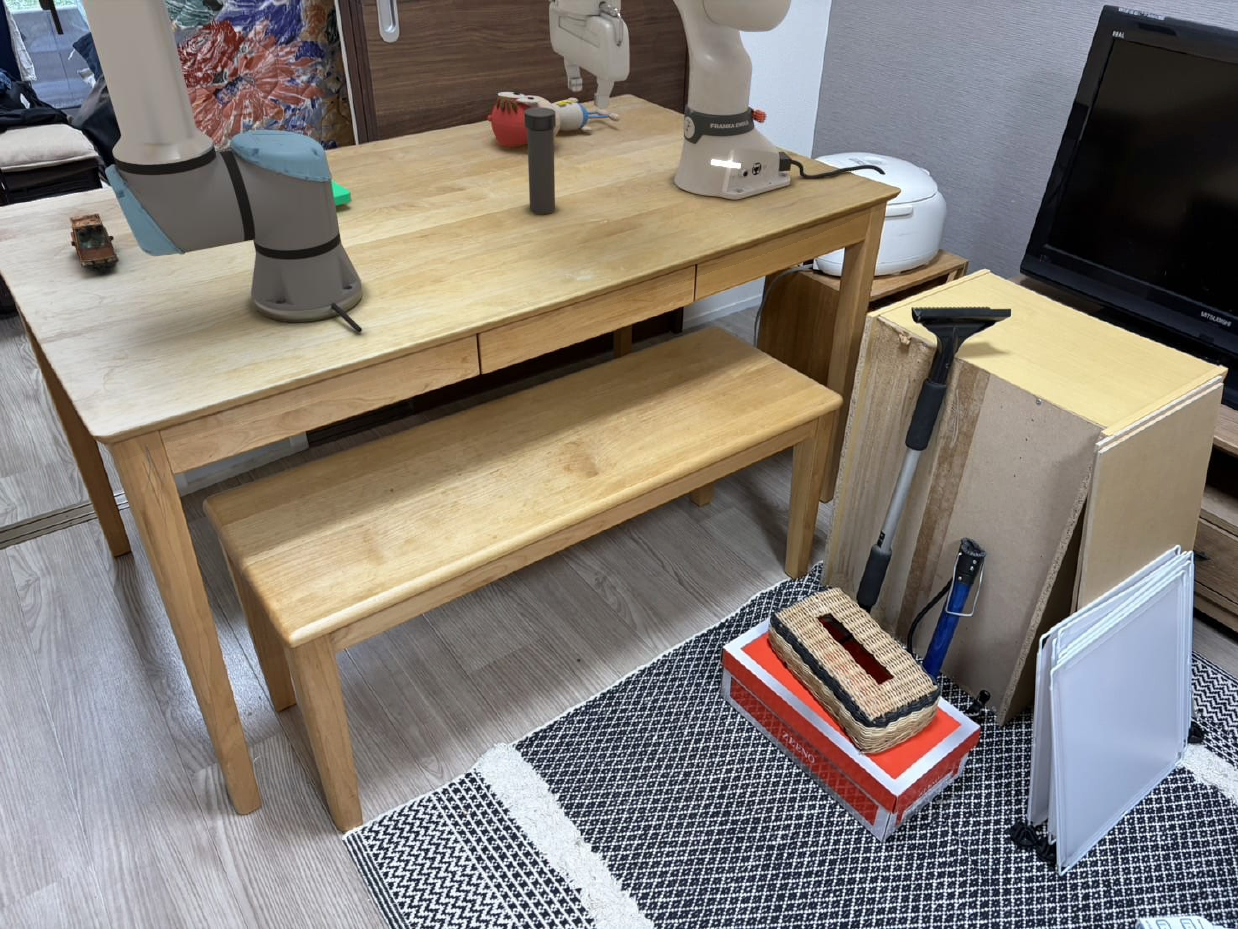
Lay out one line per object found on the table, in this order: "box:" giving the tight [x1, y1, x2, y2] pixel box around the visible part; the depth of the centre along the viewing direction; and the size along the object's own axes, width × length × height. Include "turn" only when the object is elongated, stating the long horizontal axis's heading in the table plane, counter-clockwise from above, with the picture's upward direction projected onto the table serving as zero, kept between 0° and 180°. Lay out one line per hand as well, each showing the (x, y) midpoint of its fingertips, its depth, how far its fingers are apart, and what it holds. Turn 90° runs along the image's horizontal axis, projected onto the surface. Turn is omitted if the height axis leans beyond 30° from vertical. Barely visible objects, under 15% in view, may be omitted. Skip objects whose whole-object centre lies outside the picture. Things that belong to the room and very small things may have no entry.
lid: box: [524, 107, 556, 130], centre depth 155 cm, size 5×5×2 cm
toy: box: [487, 91, 621, 148], centre depth 195 cm, size 18×10×30 cm
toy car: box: [69, 213, 120, 274], centre depth 141 cm, size 6×12×7 cm, turn 39°
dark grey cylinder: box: [527, 128, 556, 216], centre depth 159 cm, size 4×4×16 cm
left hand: (108, 29), depth 146 cm, fingers open, 13 cm apart
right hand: (587, 98), depth 138 cm, fingers open, 8 cm apart
